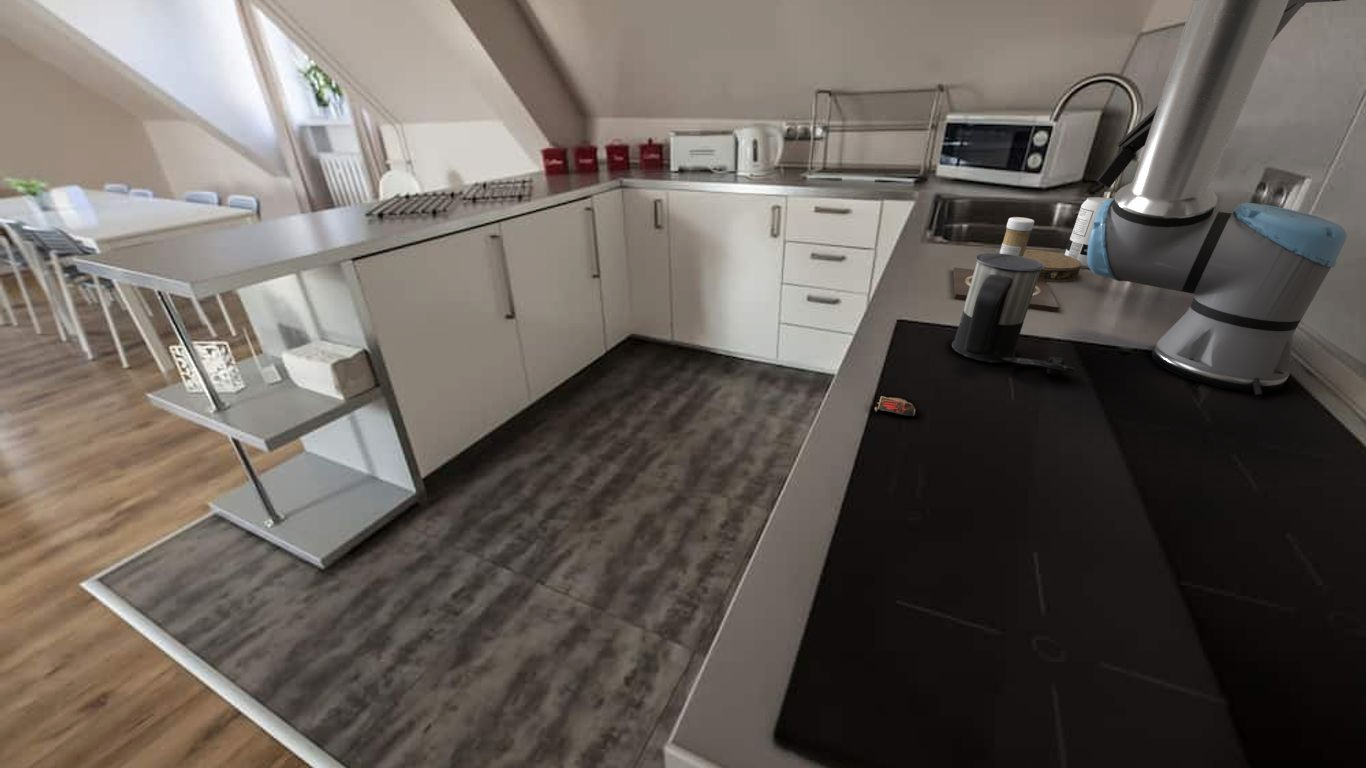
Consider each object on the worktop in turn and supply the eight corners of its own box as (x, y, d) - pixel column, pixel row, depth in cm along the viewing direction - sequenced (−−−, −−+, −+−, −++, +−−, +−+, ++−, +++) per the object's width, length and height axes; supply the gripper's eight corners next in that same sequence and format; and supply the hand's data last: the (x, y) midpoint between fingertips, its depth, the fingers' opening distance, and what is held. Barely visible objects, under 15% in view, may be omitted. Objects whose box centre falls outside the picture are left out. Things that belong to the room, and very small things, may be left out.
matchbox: (917, 418, 71) (918, 414, 70) (876, 414, 71) (876, 411, 71) (910, 400, 75) (910, 396, 74) (870, 396, 75) (871, 393, 75)
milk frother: (950, 336, 94) (973, 249, 87) (1056, 351, 89) (1089, 260, 82) (953, 371, 83) (980, 274, 76) (1075, 391, 78) (1116, 289, 71)
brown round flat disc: (986, 260, 136) (990, 248, 135) (1052, 262, 136) (1056, 249, 134) (1018, 280, 122) (1022, 267, 121) (1092, 282, 122) (1097, 269, 120)
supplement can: (1069, 257, 139) (1091, 195, 132) (1107, 265, 134) (1132, 200, 127) (1056, 263, 135) (1078, 199, 128) (1095, 271, 129) (1120, 204, 122)
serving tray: (1057, 312, 105) (1059, 306, 105) (954, 298, 111) (956, 293, 111) (1042, 282, 122) (1044, 277, 121) (953, 271, 128) (954, 266, 127)
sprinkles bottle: (1019, 286, 115) (1040, 220, 109) (1004, 289, 113) (1025, 222, 107) (999, 280, 119) (1018, 215, 112) (985, 282, 117) (1003, 217, 110)
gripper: (1300, 69, 84) (1187, 199, 92) (1185, 89, 107) (1102, 192, 115) (1260, 43, 84) (1150, 177, 92) (1153, 69, 107) (1072, 174, 115)
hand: (1123, 185), depth 104 cm, fingers open, 13 cm apart
